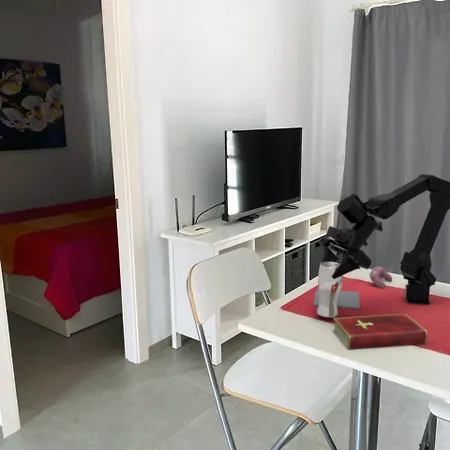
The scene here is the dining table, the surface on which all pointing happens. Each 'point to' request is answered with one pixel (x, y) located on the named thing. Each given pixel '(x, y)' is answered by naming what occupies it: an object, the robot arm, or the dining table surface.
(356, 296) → the coaster
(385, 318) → the hardcover book
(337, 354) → the dining table surface
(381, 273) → the video game controller
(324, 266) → the beer glass
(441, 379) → the dining table surface
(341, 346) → the dining table surface
